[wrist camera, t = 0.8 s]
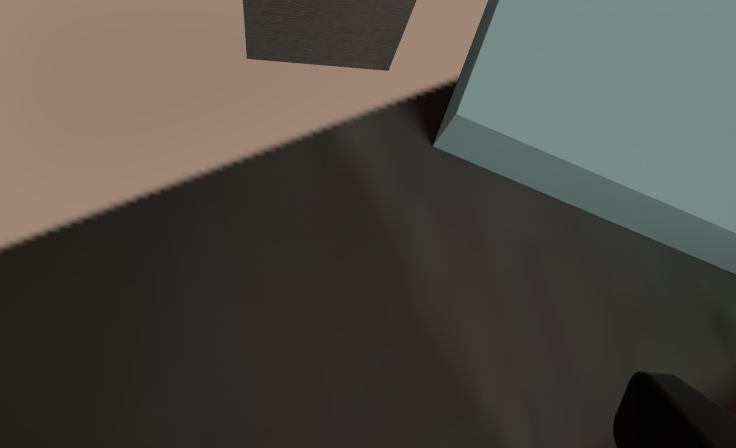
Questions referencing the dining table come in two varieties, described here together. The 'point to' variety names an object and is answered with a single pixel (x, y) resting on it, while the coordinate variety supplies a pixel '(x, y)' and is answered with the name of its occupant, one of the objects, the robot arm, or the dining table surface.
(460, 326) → the dining table surface
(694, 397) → the robot arm
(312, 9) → the housing
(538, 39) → the stand
